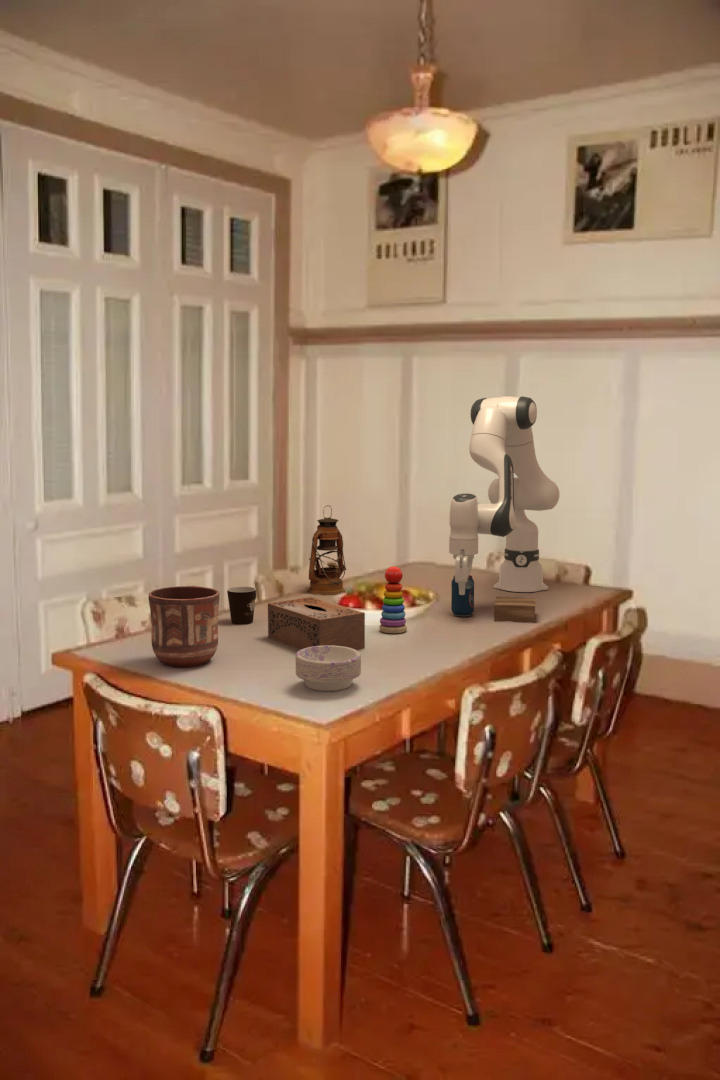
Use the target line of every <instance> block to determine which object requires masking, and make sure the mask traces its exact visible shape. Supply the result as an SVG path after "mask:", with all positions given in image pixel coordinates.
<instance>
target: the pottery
mask: <svg viewBox="0 0 720 1080" xmlns="http://www.w3.org/2000/svg"><path fill="white" fill-rule="evenodd" d="M148 605H149V610H150V612H149V613H150V621H151V627H150V628H151V630H150V631H151V633H150V634H151V642H150V643H151V648H152V651H153V654H154V655H155V657H156V659H158V660H159V661H160V662H161V664H162V665H164V666H166V665H167V667H169V666H171V667H170V668H182V669H183V668H193V667H200V666H203V665H205V664H207V663H208V662H209V661H210V660H211V659H212V658H213V657H214V655H215V654H216V652H217V650H218V647H219V609H220V608H219V606H220V591H219V590H218V589H217V590H216V589H214V588H211V587H204V586H195V585H194V586H191V585H190V586H189V585H187V586H185V585H184V586H183V585H179V586H167V587H162V588H157V589H154V590H152V591H150V592H149V593H148Z"/></svg>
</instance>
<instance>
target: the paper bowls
mask: <svg viewBox="0 0 720 1080" xmlns="http://www.w3.org/2000/svg"><path fill="white" fill-rule="evenodd" d="M294 659H295V675H296V677H298V678H299V679H301V680H303V682H304V684H305V685H306V686H307V687H308V688H309V689H312V690H313V691H319V692H337V691H342V690H345V689H347V688H348V687H350V685H351V684H352V682H353V680H354V679H356V678H358V677H359V676H361V672H362V655H361V652H360V651H359V650H355V649H352V648H348V647H343V646H332V645H324V646H313V647H308V648H304V649H299V650H298V651H296V653H295V658H294Z"/></svg>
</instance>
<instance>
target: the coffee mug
mask: <svg viewBox="0 0 720 1080" xmlns="http://www.w3.org/2000/svg"><path fill="white" fill-rule="evenodd" d="M226 590H227V592H226V593H227V599H228V606H229V607H228V608H229V612H230V613H229V614H230V622H231V624H233V625H236V626H237V625H238V626H240V625H241V626H242V625H243V626H244V625H250V624H253V623H254V616H255V615H254V614H255V613H254V612H255V606H256V599H257V588H255V587H252V586H233V587H229V588H227V589H226Z"/></svg>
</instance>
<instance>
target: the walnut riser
mask: <svg viewBox="0 0 720 1080" xmlns="http://www.w3.org/2000/svg"><path fill="white" fill-rule="evenodd" d="M493 611H494V613H493V614H494V615H493V620H494V621H493V622H502V621H513V622H512V623H526V622H532V623H533V624H535V622H536V621H535V618H536V616H535V615H536V598H532V597H510V596H509V597H507V596H495V601H494V609H493ZM532 623H531V624H532Z"/></svg>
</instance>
